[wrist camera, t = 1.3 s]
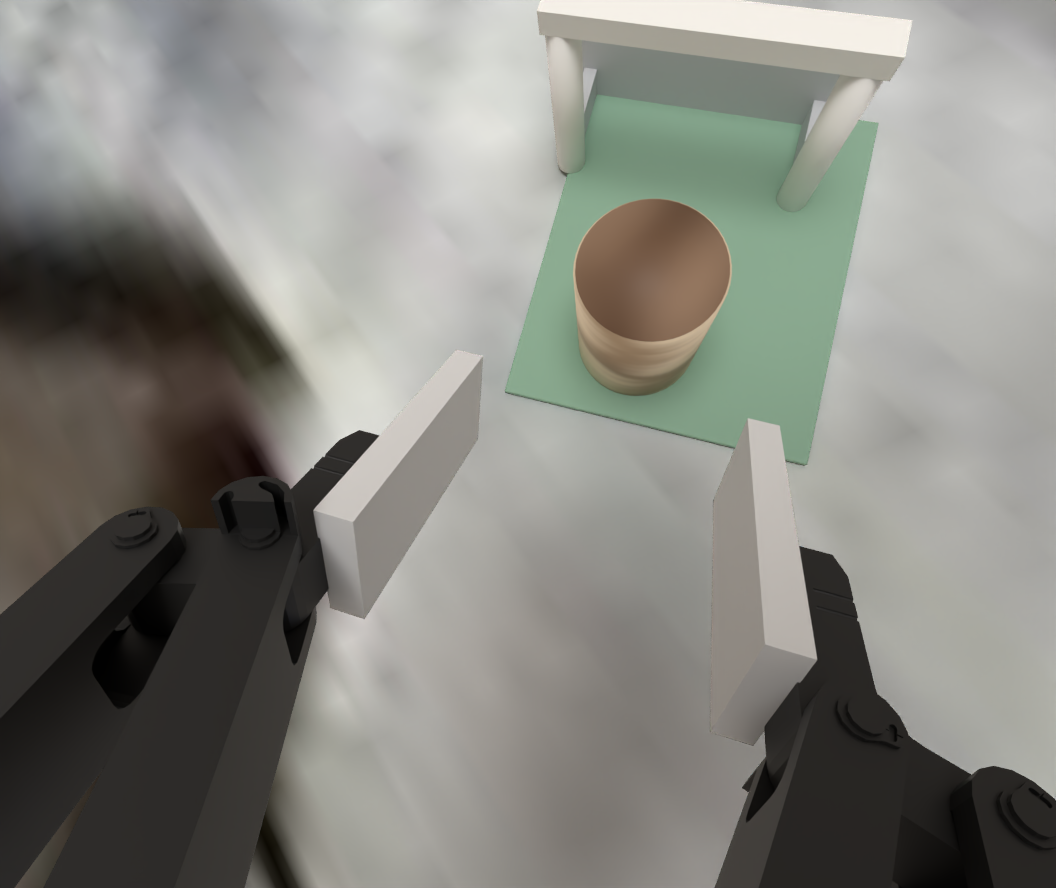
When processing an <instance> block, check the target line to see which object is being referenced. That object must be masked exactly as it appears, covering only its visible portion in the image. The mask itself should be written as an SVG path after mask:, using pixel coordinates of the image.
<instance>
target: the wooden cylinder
mask: <svg viewBox="0 0 1056 888" xmlns="http://www.w3.org/2000/svg"><path fill="white" fill-rule="evenodd" d="M731 277H732V263H731V256H730V252H729V249H728V246H727V243H726V241H725V239H724V237H723V236H722V234H721V232H720V231H719V229H718V228H717V227H716V226H715V225H714V223H713V222H712V221H711V220H710V219H708V218H707V217H706V216H705V215H704V214H702V213H701V212H699V211H698V210H696V209H694V208H692V207H690V206H688V205H686V204H683V203H680V202H677V201H672V200H667V199H642V200H636V201H632V202H628V203H626V204H623V205H620V206H618V207H616V208H614V209H612V210H610V211H609V212H607V213H606V214H604V215H603V216H602V217H601V218H599V219H598V220H597V221H596V222H595V223H594V224H593V225H592V226H591V227H590V228H589V230H588V231H587V232H586V234H585V235H584V237H583V239H582V240H581V242H580V244H579V247H578V249H577V252H576V255H575V260H574V267H573V279H574V292H575V304H576V316H577V328H578V340H579V350H580V355H581V358H582V361H583V363H584V365H585V367H586V369H587V370H588V372H589V373H590V375H591V376H592V377H593V378H594V379H595V380H596V381H597V382H598V383H600V384H601V385H602V386H604V387H606V388H607V389H609V390H611V391H614V392H616V393H620V394H623V395H629V396H643V395H649V394H654V393H657V392H660V391H662V390H664V389H666V388H668V387H669V386H671V385H672V384H674V383H675V382H676V381H677V380H678V379H679V378H680V377H681V376H682V375H683V374H684V373H685V371H686V370H687V368H688V367H689V365H690V363H691V361H692V359H693V358H694V356H695V354H696V352H697V350H698V348H699V346H700V345H701V343H702V341H703V339H704V337H705V335H706V334H707V332H708V330H709V328H710V326H711V324H712V323H713V321H714V319H715V317H716V315H717V313H718V312H719V310H720V308H721V306H722V304H723V302H724V300H725V298H726V296H727V294H728V290H729V287H730V283H731Z"/></svg>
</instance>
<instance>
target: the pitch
mask: <svg viewBox="0 0 1056 888" xmlns="http://www.w3.org/2000/svg"><path fill="white" fill-rule="evenodd" d="M801 126H802V125H800V124H793V123H786V122H780V121H773V120H766V119H759V118H753V117H746V116H739V115H732V114H726V113H719V112H712V111H706V110H699V109H692V108H685V107H679V106H672V105H665V104H659V103H652V102H645V101H638V100H632V99H625V98H618V97H611V96H605V95H598V94H597V96H596V99H595V103H594V106H593V110H592V113H591V117H590V120H589V124H588V127H587V130H586V134H585V164H584V166H583V168H582V169H581V170H580V171H578V172H576V173H572V174H569V173H568V175H567V178H566V182H565V185H564V189H563V192H562V195H561V199H560V202H559V206H558V209H557V213H556V216H555V220H554V223H553V226H552V230H551V233H550V237H549V240H548V244H547V247H546V251H545V254H544V258H543V261H542V264H541V268H540V271H539V275H538V278H537V282H536V285H535V289H534V292H533V295H532V299H531V302H530V306H529V309H528V313H527V316H526V320H525V323H524V327H523V330H522V333H521V337H520V340H519V344H518V347H517V351H516V354H515V358H514V361H513V364H512V368H511V371H510V375H509V378H508V382H507V385H506V389H505V392H506V393H509V394H513V395H517V396H522V397H526V398H530V399H534V400H538V401H542V402H546V403H550V404H554V405H559V406H563V407H567V408H571V409H575V410H579V411H583V412H587V413H591V414H596V415H600V416H604V417H608V418H612V419H616V420H620V421H624V422H628V423H633V424H637V425H641V426H645V427H649V428H653V429H657V430H661V431H665V432H670V433H674V434H678V435H682V436H686V437H690V438H694V439H698V440H702V441H707V442H711V443H715V444H719V445H723V446H727V447H731V448H735V447H736V445H737V443H738V440H739V438H740V435H741V433H742V431H743V428H744V426H745V423H746V421H747V419H748V418H749V419H754V420H758V421H762V422H766V423H771V424H775V425H779V426H780V431H781V437H782V443H783V449H784V456H785V461H789V462H793V463H797V464H801V465H807V463H808V458H809V453H810V448H811V444H812V439H813V434H814V429H815V424H816V420H817V415H818V410H819V405H820V400H821V396H822V391H823V386H824V381H825V377H826V372H827V367H828V362H829V357H830V353H831V348H832V343H833V338H834V333H835V329H836V324H837V319H838V314H839V309H840V305H841V300H842V295H843V290H844V286H845V281H846V276H847V271H848V266H849V262H850V257H851V252H852V247H853V242H854V238H855V233H856V228H857V223H858V219H859V214H860V209H861V204H862V199H863V195H864V190H865V185H866V180H867V175H868V171H869V166H870V161H871V156H872V151H873V147H874V142H875V137H876V132H877V128H878V123H875V122H868V121H861V120H859V121H858V122H857V124H856V125H855V127H854V129H853V130H852V132H851V133H850V135H849V136H848V138H847V140H846V141H845V143H844V144H843V146H842V148H841V149H840V151H839V152H838V154H837V156H836V157H835V159H834V160H833V162H832V164H831V165H830V167H829V168H828V170H827V171H826V173H825V175H824V176H823V178H822V179H821V181H820V183H819V184H818V186H817V187H816V189H815V191H814V192H813V194H812V195H811V197H810V198H809V200H808V202H807V203H806V205H805V206H804V207H803V208H802V209H801V210H799V211H796V212H788V211H785V210H783V209H782V208H780V207H779V205H778V203H777V194H778V192H779V190H780V188H781V186H782V184H783V183H784V181H785V179H786V177H787V175H788V173H789V171H790V169H791V167H792V165H793V161H794V157H795V152H796V148H797V144H798V139H799V135H800V131H801ZM642 199H667V200H672V201H677V202H680V203H683V204H686V205H688V206H690V207H692V208H694V209H696V210H698V211H699V212H701V213H702V214H704V215H705V216H706V217H707V218H708V219H710V220H711V221H712V222H713V223H714V225H715V226H716V227H717V228H718V229H719V231H720V232H721V234H722V236H723V237H724V239H725V241H726V243H727V246H728V249H729V252H730V256H731V263H732V277H731V283H730V287H729V290H728V294H727V296H726V298H725V300H724V302H723V304H722V306H721V308H720V310H719V312H718V313H717V315H716V317H715V319H714V321H713V323H712V324H711V326H710V328H709V330H708V332H707V334H706V335H705V337H704V339H703V341H702V343H701V345H700V346H699V348H698V350H697V352H696V354H695V356H694V358H693V359H692V361H691V363H690V365H689V367H688V368H687V370H686V371H685V373H684V374H683V375H682V376H681V377H680V378H679V379H678V380H677V381H676V382H675V383H674V384H672V385H671V386H669V387H668V388H666V389H664V390H662V391H660V392H657V393H654V394H649V395H643V396H629V395H623V394H620V393H616V392H614V391H611V390H609V389H607V388H606V387H604V386H602V385H601V384H600V383H598V382H597V381H596V380H595V379H594V378H593V377H592V376H591V375H590V373H589V372H588V370H587V369H586V367H585V365H584V363H583V361H582V358H581V355H580V350H579V340H578V328H577V316H576V304H575V292H574V279H573V267H574V260H575V255H576V252H577V249H578V247H579V244H580V242H581V240H582V239H583V237H584V235H585V234H586V232H587V231H588V230H589V228H590V227H591V226H592V225H593V224H594V223H595V222H596V221H597V220H598V219H599V218H601V217H602V216H603V215H604V214H606V213H607V212H609V211H610V210H612V209H614V208H616V207H618V206H620V205H623V204H626V203H628V202H632V201H636V200H642Z"/></svg>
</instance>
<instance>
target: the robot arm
mask: <svg viewBox="0 0 1056 888" xmlns="http://www.w3.org/2000/svg"><path fill="white" fill-rule="evenodd" d="M482 366H483V356H481V355H476V354H472V353H468V352H464V351H459V350H456V351H455V352H454V353H453V354H452V355H451V356H450V357H449V358H448V360H447V361H446V362H445V363H444V364H443V365H442V366H441V367H440V369H439V370H438V371H437V372H436V373H435V374H434V375H433V376H432V378H431V379H430V380H429V381H428V382H427V383H426V384H425V385H424V387H423V388H422V389H421V390H420V391H419V392H418V393H417V394H416V395H415V397H414V398H413V399H412V400H411V401H410V402H409V403H408V404H407V406H406V407H405V408H404V409H403V410H402V411H401V412H400V413H399V415H398V416H397V417H396V418H395V419H394V420H393V421H392V422H391V423H390V425H389V426H388V427H387V428H386V429H385V430H384V431H383V432H382V434H381V435H380V436H379V435H375V434H372V433H368V432H364V431H360V430H359V431H357V432H355V433H353V434H351V435H349V436H347V437H345V438H343V439H341V440H339V441H338V442H337V443H336V444H335V445H334V446H333V447H332V448H331V449H330V450H329V451H328V452H327V453H326V455H325V457H322V458H321V459H320V460H319V461H318V462H317V463H316V464H315V465H314V469H312V468H311V469H310V471H309V472H308V473H307V474H306V475H305V476H304V477H303V478H302V479H301V480H300V481H299V482H298V483H297V484H296V485H295V486H294V487H293V488H292V489H290V488H289V486H288V485H287V484H286V483H284V482H282V481H281V480H279V479H277V478H271V477H265V476H259V477H248V478H244V479H241V480H238V481H235V482H232V483H230V484H229V485H227V486H225V487H224V488H222V489H220V490H219V491H218V492H217V493H216V494H215V496H214V497H213V498H212V499H211V503H212V506H213V509H214V512H215V515H216V518H217V522H218V525H219V528H220V529H207V528H181V526H180V523H179V521H178V519H177V517H176V516H175V515H174V513H173V512H171V511H169V510H166V509H164V508H160V507H143V508H138V509H132V510H129V511H126V512H124V513H121V514H119V515H116V516H114V517H113V518H111V519H110V520H108V521H107V522H105V523H104V524H102V525H101V526H100V527H99V528H97V529H96V530H95V531H94V532H93V533H92V534H91V535H90V536H88V537H87V538H86V539H85V540H84V541H83V542H82V543H81V544H79V545H78V546H77V547H76V548H75V549H74V550H73V551H72V552H70V553H69V554H68V555H67V556H66V557H65V558H64V559H62V560H61V561H60V562H59V563H58V564H57V565H56V566H55V567H53V568H52V569H51V570H50V571H49V572H48V573H47V574H46V575H44V576H43V577H42V578H41V579H40V580H39V581H38V582H37V583H35V584H34V585H33V586H32V587H31V588H30V589H29V590H28V591H26V592H25V593H24V594H23V595H22V596H21V597H20V598H19V599H17V600H16V601H15V602H14V603H13V604H12V605H11V606H10V607H8V608H7V609H6V610H5V611H4V612H3V613H2V614H0V888H14V887H15V886H16V885H17V883H18V882H19V881H20V879H21V878H22V877H23V875H24V874H25V873H26V871H27V870H28V869H29V867H30V866H31V865H32V863H33V862H34V861H35V859H36V858H37V857H38V855H39V854H40V853H41V851H42V850H43V849H44V847H45V846H46V845H47V843H48V842H49V841H50V839H51V838H52V837H53V835H54V834H55V833H56V831H57V830H58V828H59V827H60V826H61V824H62V823H63V822H64V820H65V819H66V818H67V816H68V815H69V814H70V812H71V811H72V810H73V808H74V807H75V806H76V804H77V803H78V802H79V800H80V799H81V798H82V796H83V795H84V794H85V792H86V791H87V790H88V788H89V787H90V786H91V784H92V783H93V782H94V780H95V779H96V778H97V776H98V775H99V774H100V772H101V771H102V772H101V774H100V776H99V778H98V780H97V782H96V784H95V786H94V788H93V790H92V792H91V794H90V796H89V798H88V800H87V802H86V804H85V806H84V808H83V810H82V812H81V814H80V816H79V818H78V820H77V822H76V824H75V826H74V828H73V830H72V832H71V834H70V836H69V838H68V840H67V842H66V844H65V846H64V848H63V850H62V852H61V854H60V856H59V858H58V860H57V862H56V864H55V866H54V868H53V870H52V872H51V874H50V876H49V878H48V880H47V882H46V884H45V886H44V888H244V887H245V884H246V880H247V876H248V873H249V869H250V865H251V862H252V858H253V854H254V850H255V847H256V843H257V839H258V836H259V832H260V828H261V825H262V821H263V817H264V814H265V810H266V806H267V803H268V799H269V795H270V791H271V788H272V784H273V780H274V777H275V773H276V769H277V766H278V762H279V758H280V755H281V751H282V747H283V743H284V740H285V736H286V732H287V729H288V725H289V721H290V718H291V714H292V710H293V707H294V703H295V699H296V695H297V692H298V688H299V684H300V681H301V677H302V673H303V670H304V666H305V662H306V659H307V655H308V651H309V647H310V644H311V640H312V636H313V633H314V629H315V625H316V614H317V612H316V605H317V604H318V602H319V601H320V600H321V598H322V597H323V596H324V594H325V593H326V592H328V598H329V603H330V608H332V609H335V610H338V611H341V612H344V613H348V614H351V615H354V616H357V617H360V618H363V619H365V617H366V616H367V614H368V613H369V611H370V609H371V608H372V606H373V605H374V603H375V601H376V600H377V598H378V597H379V595H380V594H381V592H382V590H383V589H384V587H385V586H386V584H387V582H388V581H389V579H390V578H391V576H392V574H393V573H394V571H395V570H396V568H397V567H398V565H399V563H400V562H401V560H402V559H403V557H404V555H405V554H406V552H407V551H408V549H409V547H410V546H411V544H412V543H413V541H414V540H415V538H416V536H417V535H418V533H419V532H420V530H421V528H422V527H423V525H424V524H425V522H426V520H427V519H428V517H429V516H430V514H431V513H432V511H433V509H434V508H435V506H436V505H437V503H438V501H439V500H440V498H441V497H442V495H443V493H444V492H445V490H446V489H447V487H448V485H449V484H450V482H451V481H452V479H453V478H454V476H455V474H456V473H457V471H458V470H459V468H460V466H461V465H462V463H463V462H464V460H465V458H466V457H467V455H468V454H469V452H470V451H471V449H472V447H473V446H474V444H475V443H476V441H477V439H478V429H479V413H480V397H481V382H482ZM857 618H858V616H857V612H856V608H855V604H854V603H853V596H852V592H851V587H850V583H849V579H848V576H847V575H846V574H845V572H844V571H843V569H842V568H841V566H840V565H839V564H838V562H837V561H836V559H835V558H834V556H833V555H830V554H827V553H823V552H819V551H815V550H812V549H808V548H804V547H800V546H799V543H798V536H797V530H796V524H795V518H794V511H793V505H792V499H791V493H790V487H789V480H788V474H787V468H786V462H785V456H784V449H783V443H782V437H781V431H780V426H779V425H775V424H771V423H766V422H762V421H758V420H754V419H749V418H748V419H747V421H746V423H745V426H744V428H743V431H742V433H741V435H740V438H739V440H738V443H737V445H736V447H735V450H734V452H733V455H732V457H731V459H730V462H729V464H728V467H727V469H726V471H725V474H724V476H723V479H722V481H721V483H720V486H719V488H718V490H717V493H716V495H715V498H714V500H713V566H712V634H711V703H710V732H712V733H715V734H718V735H721V736H724V737H727V738H730V739H734V740H737V741H740V742H743V743H746V744H749V745H752V746H753V745H754V744H755V743H756V741H757V740H758V739H759V737H760V736H761V735H762V733H763V732H764V731H765V744H766V757H765V759H764V760H763V761H762V762H761V764H760V765H759V766H758V767H757V769H756V770H755V771H754V772H753V774H752V775H751V776H750V777H749V779H748V780H747V782H746V783H745V784H744V786H743V787H742V788H743V789H744V790H746V791H747V792H749V793H748V796H747V799H746V802H745V804H744V807H743V810H742V813H741V816H740V818H739V821H738V824H737V827H736V830H735V832H734V835H733V838H732V841H731V844H730V846H729V849H728V852H727V855H726V858H725V860H724V863H723V866H722V869H721V872H720V874H719V877H718V880H717V883H716V886H715V888H1056V800H1055V799H1054V798H1053V797H1052V796H1050V795H1049V794H1048V793H1047V792H1046V791H1044V790H1043V789H1042V788H1041V787H1039V786H1038V785H1037V784H1036V783H1035V782H1033V781H1031V780H1029V779H1028V778H1026V777H1024V776H1022V775H1020V774H1018V773H1016V772H1015V771H1013V770H1009V769H1004V768H1000V767H996V766H991V767H986V768H982V769H979V770H978V771H976V772H975V773H973V774H972V775H971V774H969V773H967V772H966V771H964V770H962V769H961V768H959V767H957V766H955V765H954V764H952V763H950V762H949V761H947V760H945V759H944V758H942V757H940V756H938V755H937V754H935V753H933V752H932V751H930V750H928V749H927V748H925V747H924V746H922V745H921V744H919V743H918V742H916V741H915V740H913V739H912V738H911V737H910V736H908V732H907V730H906V728H905V726H904V724H903V722H902V720H901V718H900V716H899V715H898V714H897V713H896V712H895V711H894V709H893V708H892V707H891V706H890V705H889V704H888V703H887V701H886V700H884V699H883V698H882V697H880V696H879V695H877V692H876V689H875V685H874V681H873V677H872V673H871V669H870V665H869V661H868V657H867V653H866V649H865V645H864V641H863V636H862V632H861V628H860V624H859V622H858V621H857Z"/></svg>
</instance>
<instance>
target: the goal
mask: <svg viewBox="0 0 1056 888" xmlns="http://www.w3.org/2000/svg"><path fill="white" fill-rule="evenodd" d="M537 15H538V24H539V33H540V35H545V39H546V49H547V59H548V70H549V80H550V90H551V100H552V110H553V120H554V130H555V140H556V150H557V160H558V166H559V168H560V169H561V170H562V171H563V172H565V173H569V174H572V173H576V172H578V171H580V170H581V169H582V168H583V166H584V164H585V134H586V130H587V127H588V124H589V120H590V117H591V113H592V110H593V106H594V103H595V99H596V96H597V94H598V95H605V96H611V97H618V98H625V99H632V100H638V101H645V102H652V103H659V104H665V105H672V106H679V107H685V108H692V109H699V110H706V111H712V112H719V113H726V114H732V115H739V116H746V117H753V118H759V119H766V120H773V121H780V122H786V123H793V124H800V125H802V126H801V131H800V135H799V139H798V144H797V148H796V152H795V157H794V161H793V165H792V167H791V169H790V171H789V173H788V175H787V177H786V179H785V181H784V183H783V184H782V186H781V188H780V190H779V192H778V194H777V203H778V205H779V207H780V208H782V209H783V210H785V211H788V212H796V211H799V210H801V209H802V208H803V207H804V206H805V205H806V203H807V202H808V200H809V198H810V197H811V195H812V194H813V192H814V191H815V189H816V187H817V186H818V184H819V183H820V181H821V179H822V178H823V176H824V175H825V173H826V171H827V170H828V168H829V167H830V165H831V164H832V162H833V160H834V159H835V157H836V156H837V154H838V152H839V151H840V149H841V148H842V146H843V144H844V143H845V141H846V140H847V138H848V136H849V135H850V133H851V132H852V130H853V129H854V127H855V125H856V124H857V122H858V121H859V119H860V117H861V116H862V114H863V113H864V111H865V109H866V108H867V106H868V105H869V103H870V102H871V100H872V98H873V97H874V95H875V94H876V92H877V90H878V89H879V87H880V86H881V84H882V82H883V81H890V80H891V78H892V77H893V75H894V74H895V72H896V71H897V69H898V67H899V66H900V64H901V63H902V61H903V60H904V58H905V54H906V50H907V45H908V40H909V35H910V30H911V25H912V20H905V19H897V18H888V17H879V16H871V15H862V14H853V13H845V12H836V11H828V10H819V9H810V8H802V7H793V6H785V5H776V4H767V3H759V2H750V1H742V0H540V3H539V6H538V10H537Z"/></svg>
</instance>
